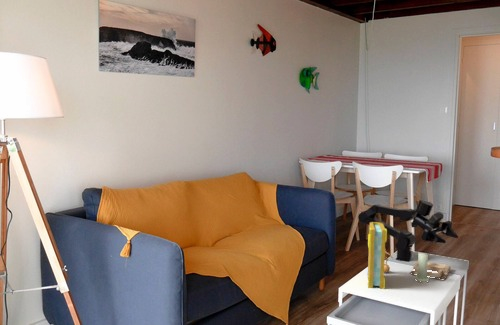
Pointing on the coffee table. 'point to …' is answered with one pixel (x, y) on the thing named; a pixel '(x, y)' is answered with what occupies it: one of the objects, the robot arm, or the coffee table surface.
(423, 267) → the sage peg
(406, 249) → the robot arm
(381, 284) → the book
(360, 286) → the coffee table surface
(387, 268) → the figurine
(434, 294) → the coffee table surface
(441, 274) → the keyhole board
